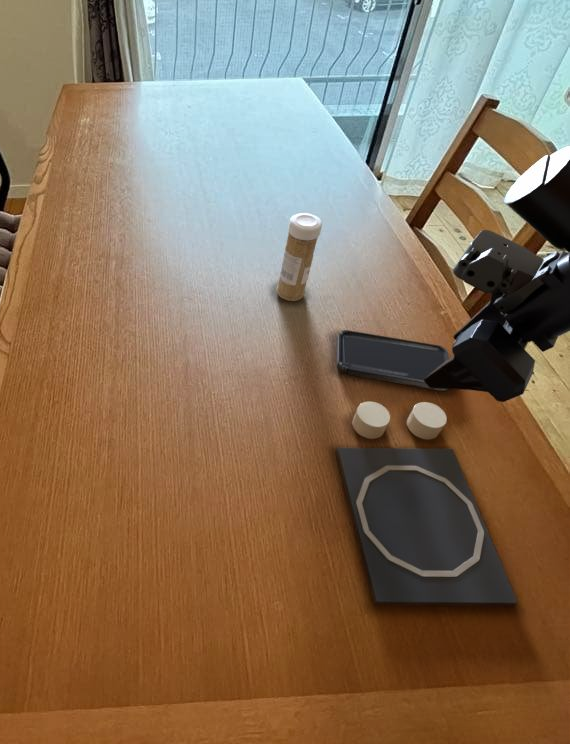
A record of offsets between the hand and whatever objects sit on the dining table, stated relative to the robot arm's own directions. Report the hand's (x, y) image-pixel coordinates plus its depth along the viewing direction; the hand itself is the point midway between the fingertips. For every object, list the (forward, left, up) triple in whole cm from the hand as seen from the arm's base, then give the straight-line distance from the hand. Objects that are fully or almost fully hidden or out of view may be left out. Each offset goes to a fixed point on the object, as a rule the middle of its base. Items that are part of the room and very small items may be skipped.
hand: (442, 360), depth 58 cm
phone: (-3, -13, -15) cm, 20 cm away
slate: (+1, +11, -15) cm, 18 cm away
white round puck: (-4, -2, -15) cm, 16 cm away
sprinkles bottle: (+9, -28, -15) cm, 33 cm away
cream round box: (+3, -2, -15) cm, 15 cm away
